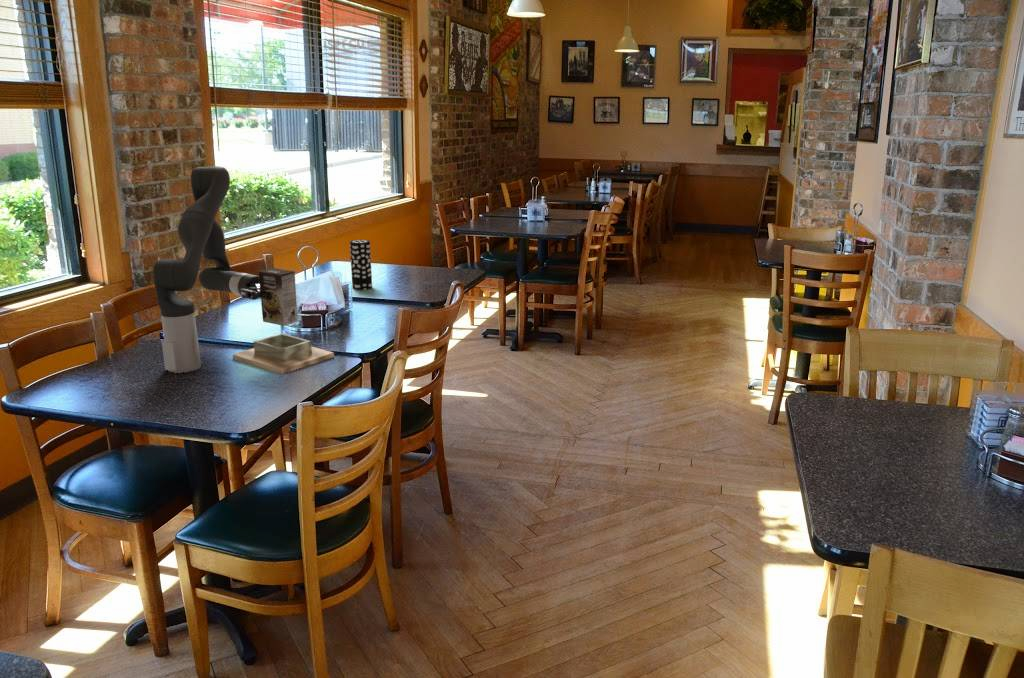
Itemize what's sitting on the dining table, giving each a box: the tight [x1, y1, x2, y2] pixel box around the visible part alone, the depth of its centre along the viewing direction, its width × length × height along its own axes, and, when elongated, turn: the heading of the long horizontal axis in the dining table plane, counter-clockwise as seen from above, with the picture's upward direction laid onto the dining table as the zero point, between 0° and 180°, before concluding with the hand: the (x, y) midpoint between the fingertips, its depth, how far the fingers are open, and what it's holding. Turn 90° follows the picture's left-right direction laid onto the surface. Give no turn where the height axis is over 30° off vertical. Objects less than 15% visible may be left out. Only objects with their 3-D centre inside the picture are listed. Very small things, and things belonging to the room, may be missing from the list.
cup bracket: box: [232, 333, 335, 375], centre depth 247 cm, size 20×24×6 cm
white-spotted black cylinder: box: [349, 239, 373, 291], centre depth 334 cm, size 8×8×20 cm
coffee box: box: [258, 267, 298, 327], centre depth 242 cm, size 9×6×16 cm
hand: (280, 293), depth 241 cm, fingers closed on coffee box, 7 cm apart
